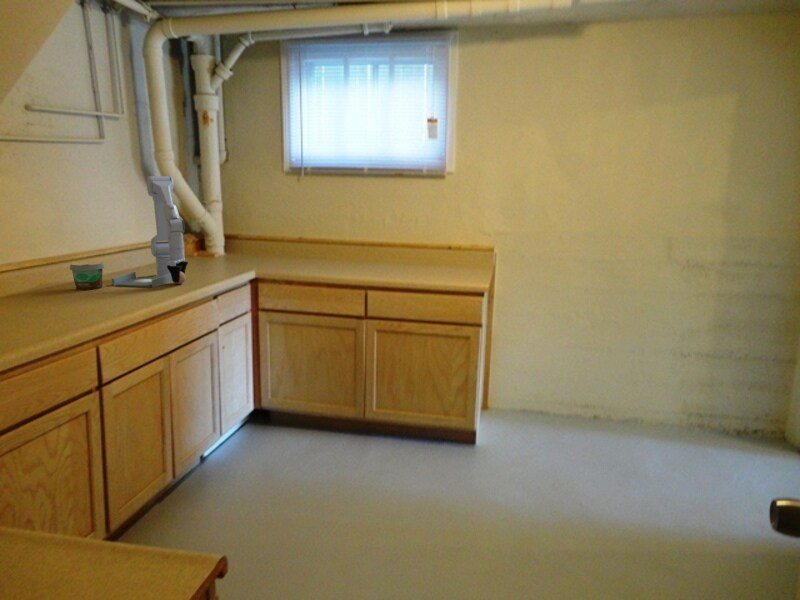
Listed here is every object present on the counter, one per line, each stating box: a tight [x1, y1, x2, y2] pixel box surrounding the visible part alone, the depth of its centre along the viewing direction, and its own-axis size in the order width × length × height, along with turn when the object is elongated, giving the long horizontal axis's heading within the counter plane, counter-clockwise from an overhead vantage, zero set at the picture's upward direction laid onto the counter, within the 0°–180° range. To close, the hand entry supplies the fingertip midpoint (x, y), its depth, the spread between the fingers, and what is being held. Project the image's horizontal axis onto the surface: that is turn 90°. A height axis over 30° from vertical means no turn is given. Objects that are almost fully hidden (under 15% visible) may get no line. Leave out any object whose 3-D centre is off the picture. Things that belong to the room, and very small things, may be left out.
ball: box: [171, 271, 186, 285], centre depth 241 cm, size 6×6×6 cm
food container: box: [69, 262, 105, 291], centre depth 228 cm, size 12×6×10 cm, turn 105°
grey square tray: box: [111, 271, 173, 288], centre depth 243 cm, size 16×18×3 cm
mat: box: [115, 276, 158, 289], centre depth 243 cm, size 18×14×1 cm
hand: (178, 280), depth 242 cm, fingers open, 7 cm apart
